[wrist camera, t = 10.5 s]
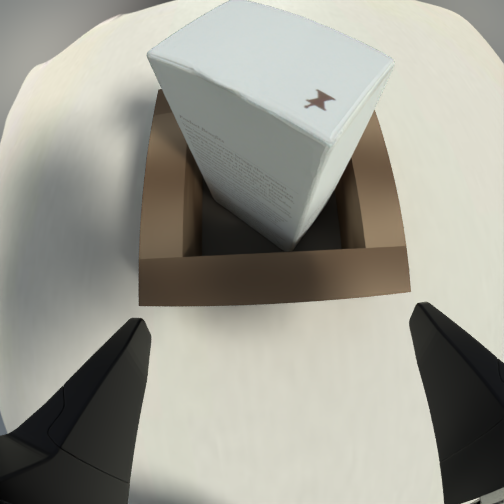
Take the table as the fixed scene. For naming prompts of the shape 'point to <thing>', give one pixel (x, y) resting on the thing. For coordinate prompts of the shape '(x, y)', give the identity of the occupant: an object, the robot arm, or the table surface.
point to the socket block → (256, 245)
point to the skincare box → (269, 109)
